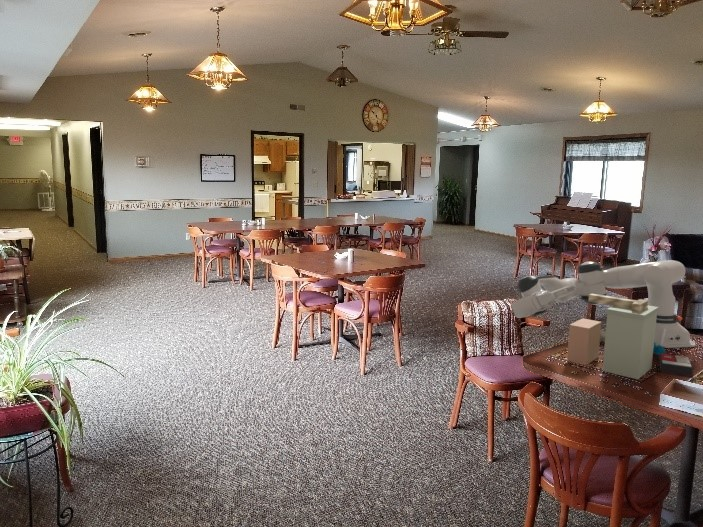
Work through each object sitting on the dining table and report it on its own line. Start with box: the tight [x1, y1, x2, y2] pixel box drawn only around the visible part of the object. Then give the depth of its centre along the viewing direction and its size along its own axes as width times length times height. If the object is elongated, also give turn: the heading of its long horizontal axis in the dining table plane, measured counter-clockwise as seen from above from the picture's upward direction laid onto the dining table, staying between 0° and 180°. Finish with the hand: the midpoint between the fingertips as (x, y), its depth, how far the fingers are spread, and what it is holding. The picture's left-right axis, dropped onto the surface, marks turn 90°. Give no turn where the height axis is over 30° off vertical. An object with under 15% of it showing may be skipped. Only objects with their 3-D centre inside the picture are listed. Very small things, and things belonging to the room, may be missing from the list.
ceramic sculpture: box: [600, 327, 606, 343], centre depth 254 cm, size 11×9×15 cm
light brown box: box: [566, 318, 602, 366], centre depth 233 cm, size 8×14×16 cm, turn 136°
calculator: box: [658, 353, 694, 377], centre depth 224 cm, size 11×4×15 cm
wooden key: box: [588, 294, 648, 312], centre depth 222 cm, size 21×10×3 cm, turn 46°
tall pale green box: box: [602, 305, 659, 380], centre depth 220 cm, size 14×18×26 cm
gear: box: [653, 342, 666, 356], centre depth 238 cm, size 11×6×10 cm
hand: (570, 288), depth 234 cm, fingers open, 8 cm apart
